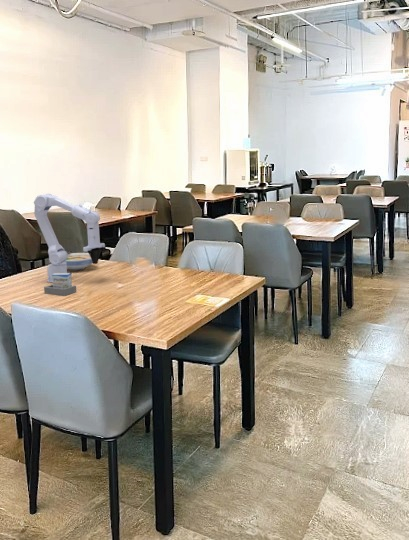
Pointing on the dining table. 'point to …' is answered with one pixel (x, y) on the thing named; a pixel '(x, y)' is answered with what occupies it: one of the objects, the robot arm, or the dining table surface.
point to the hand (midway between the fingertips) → (95, 263)
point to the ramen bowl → (78, 261)
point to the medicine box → (62, 280)
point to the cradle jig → (59, 290)
